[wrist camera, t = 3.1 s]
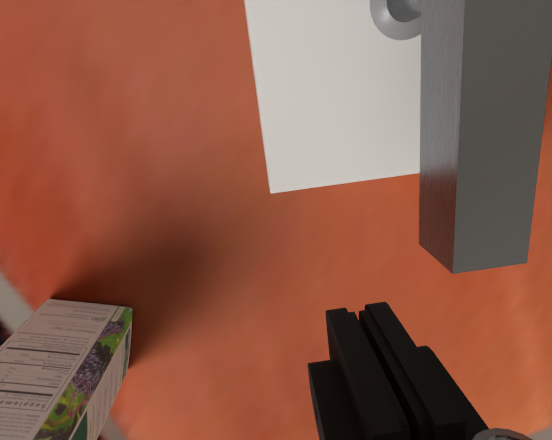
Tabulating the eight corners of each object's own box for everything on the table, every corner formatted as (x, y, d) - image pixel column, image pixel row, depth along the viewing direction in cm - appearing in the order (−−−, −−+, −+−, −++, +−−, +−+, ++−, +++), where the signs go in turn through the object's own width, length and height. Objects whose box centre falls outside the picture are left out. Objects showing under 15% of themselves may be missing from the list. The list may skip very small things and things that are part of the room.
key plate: (218, -186, 17) (214, -225, 15) (550, -223, 17) (591, -266, 15) (268, 185, 23) (270, 194, 21) (514, 151, 24) (540, 156, 21)
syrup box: (130, 371, 27) (9, 656, 13) (45, 364, 26) (-174, 657, 13) (134, 305, 25) (0, 555, 12) (43, 295, 25) (-213, 550, 11)
